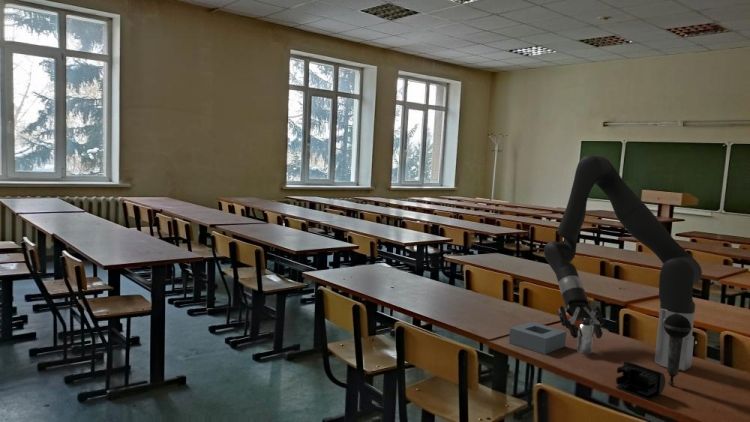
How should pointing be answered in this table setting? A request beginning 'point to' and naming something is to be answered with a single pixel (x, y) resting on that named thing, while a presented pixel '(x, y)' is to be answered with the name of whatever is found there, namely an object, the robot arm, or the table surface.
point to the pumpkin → (575, 320)
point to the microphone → (675, 341)
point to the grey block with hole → (537, 337)
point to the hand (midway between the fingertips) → (587, 337)
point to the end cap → (640, 381)
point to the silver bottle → (585, 337)
